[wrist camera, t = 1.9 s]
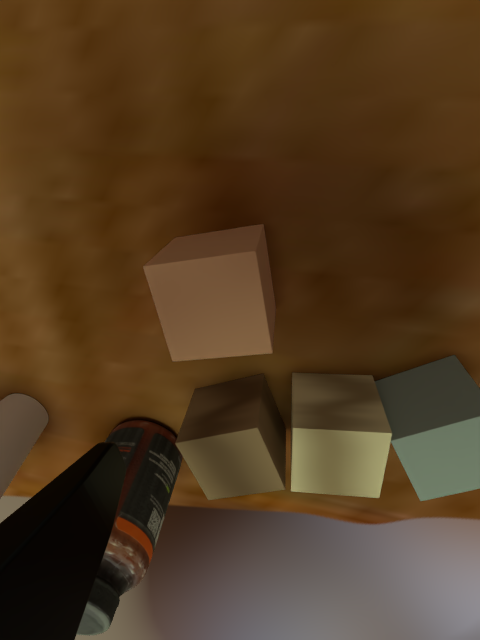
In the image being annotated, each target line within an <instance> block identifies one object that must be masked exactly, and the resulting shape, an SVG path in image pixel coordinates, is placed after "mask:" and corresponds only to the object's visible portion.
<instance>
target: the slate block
mask: <svg viewBox="0 0 480 640" xmlns="http://www.w3.org/2000/svg"><path fill="white" fill-rule="evenodd" d="M375 384H376V387H377V390H378V393H379V396H380V399H381V402H382V405H383V408H384V411H385V414H386V417H387V420H388V423H389V425H390V428H391V431H392V437H391V443H392V445H393V447H394V449H395V451H396V453H397V455H398V457H399V459H400V461H401V463H402V465H403V467H404V469H405V471H406V473H407V475H408V477H409V479H410V481H411V483H412V485H413V487H414V489H415V491H416V493H417V495H418V497H419V499H420V501H424V500H429V499H433V498H438V497H442V496H447V495H452V494H456V493H461V492H465V491H470V490H475V489H479V488H480V388H479V387H478V386H477V384H476V383H475V382H474V380H473V379H472V378H471V376H470V375H469V374H468V372H467V371H466V370H465V368H464V367H463V366H462V364H461V363H460V362H459V360H458V359H457V358H456V356H455V355H452V356H449V357H446V358H443V359H440V360H437V361H434V362H431V363H428V364H425V365H422V366H419V367H416V368H413V369H410V370H407V371H404V372H401V373H398V374H395V375H393V376H390V377H387V378H384V379H381V380H378V381H375Z"/></svg>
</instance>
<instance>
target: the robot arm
mask: <svg viewBox="0 0 480 640" xmlns="http://www.w3.org/2000/svg"><path fill="white" fill-rule="evenodd" d="M125 475H126V464H125V461H124V459H123V457H122V455H121V452H120V450H119V448H118V446H117V444H116V443H114V442H101V443H98V444H97V445H95V446H94V447H93V448H92V449H90V450H89V451H88V452H87V453H86V454H84V455H83V456H82V457H81V458H79V459H78V460H77V461H76V462H75V463H73V464H72V465H71V466H70V467H68V468H67V469H66V470H65V471H64V472H62V473H61V474H60V475H59V476H58V477H56V478H55V479H54V480H53V481H51V482H50V483H49V484H48V485H47V486H45V487H44V488H43V489H42V490H40V491H39V492H38V493H37V494H36V495H34V496H33V497H32V498H31V499H29V500H28V501H27V502H26V503H25V504H23V505H22V506H21V507H20V508H19V509H17V510H16V511H15V512H14V513H13V514H11V515H10V516H9V517H7V518H6V519H5V520H4V521H3V522H1V523H0V640H74V639H75V636H76V634H77V631H78V628H79V625H80V622H81V619H82V617H83V614H84V611H85V608H86V605H87V602H88V599H89V596H90V594H91V591H92V588H93V585H94V582H95V579H96V576H97V573H98V570H99V568H100V565H101V562H102V559H103V556H104V553H105V550H106V547H107V544H108V541H109V538H110V535H111V532H112V528H113V524H114V520H115V516H116V512H117V508H118V504H119V500H120V496H121V492H122V488H123V483H124V479H125Z"/></svg>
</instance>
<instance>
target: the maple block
mask: <svg viewBox="0 0 480 640" xmlns="http://www.w3.org/2000/svg"><path fill="white" fill-rule="evenodd" d="M391 437H392V431H391V428H390V425H389V423H388V420H387V417H386V414H385V411H384V408H383V405H382V402H381V399H380V396H379V393H378V390H377V387H376V384H375V381H374V378H373V375H347V374H317V373H292V403H291V491H294V492H307V493H320V494H333V495H346V496H359V497H372V498H379V496H380V491H381V486H382V482H383V477H384V472H385V467H386V462H387V457H388V452H389V447H390V442H391Z"/></svg>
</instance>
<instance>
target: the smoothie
mask: <svg viewBox="0 0 480 640" xmlns="http://www.w3.org/2000/svg"><path fill="white" fill-rule="evenodd" d="M47 423H48V414H47V411H46V410H45V408H44V407H43V406H42V405H41V404H40V403H39V402H38V401H37V400H35V399H34V398H32V397H30V396H27V395H24V394H17V393H16V394H10V395H8V396H7V397H5V398H4V399H2V400H1V401H0V498H1V497H2V495H3V494H4V492H5V491H6V489H7V487H8V486H9V484H10V483H11V481H12V479H13V478H14V476H15V475H16V473H17V471H18V470H19V468H20V467H21V465H22V463H23V462H24V460H25V459H26V457H27V455H28V454H29V452H30V451H31V449H32V447H33V446H34V444H35V443H36V441H37V439H38V438H39V436H40V435H41V433H42V431H43V430H44V428H45V427H46V425H47Z"/></svg>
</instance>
